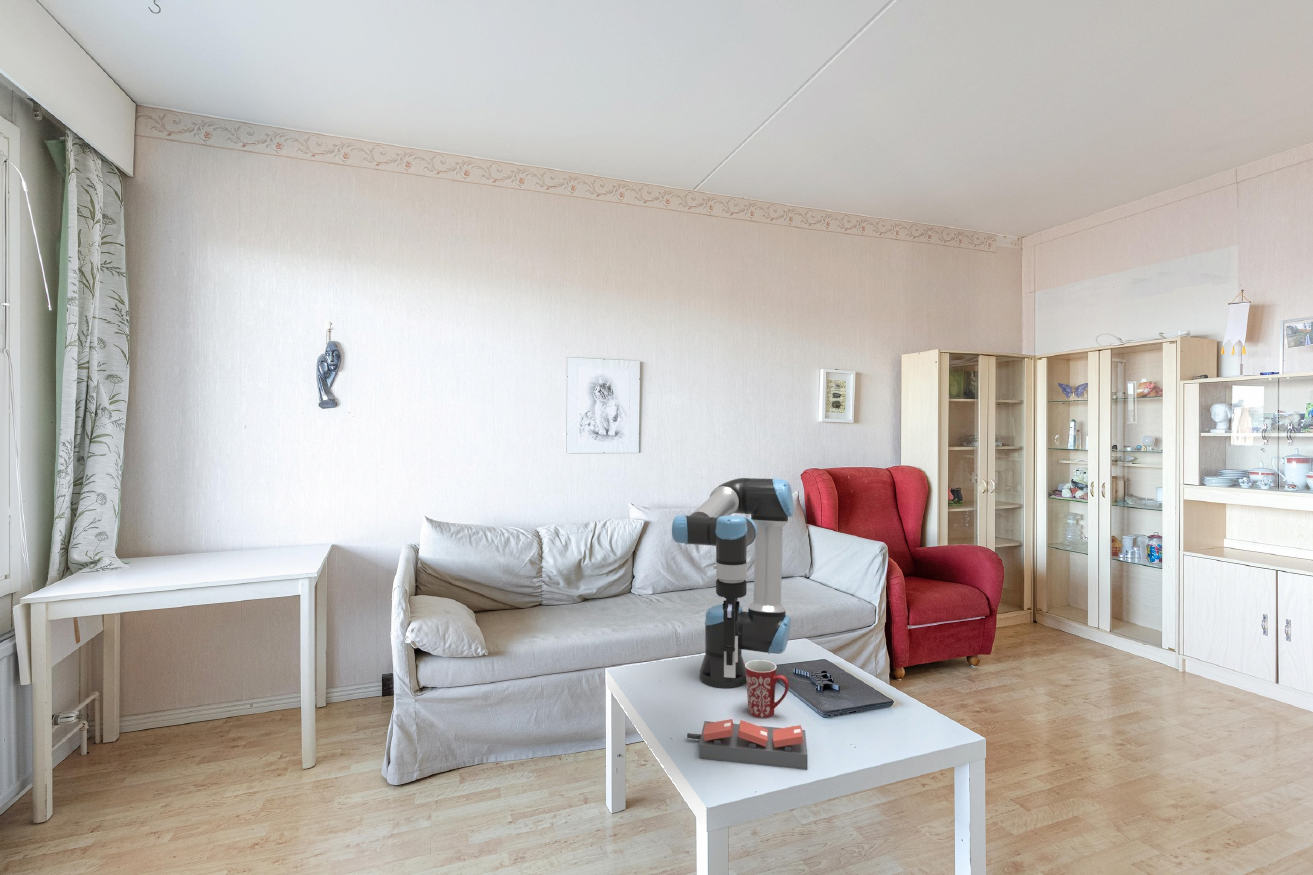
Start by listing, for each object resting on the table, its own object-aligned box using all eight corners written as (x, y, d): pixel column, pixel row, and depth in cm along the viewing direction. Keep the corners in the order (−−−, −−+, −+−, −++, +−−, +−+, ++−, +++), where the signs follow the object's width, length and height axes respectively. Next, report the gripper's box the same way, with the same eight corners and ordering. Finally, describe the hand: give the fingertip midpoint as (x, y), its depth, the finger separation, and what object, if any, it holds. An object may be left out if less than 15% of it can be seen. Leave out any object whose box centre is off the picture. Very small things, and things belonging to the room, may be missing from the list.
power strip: (689, 732, 166) (689, 715, 166) (805, 743, 160) (805, 725, 160) (682, 756, 154) (682, 738, 154) (807, 769, 148) (807, 750, 148)
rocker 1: (707, 729, 159) (705, 723, 159) (733, 724, 158) (732, 718, 158) (704, 740, 154) (702, 734, 154) (732, 736, 152) (730, 729, 152)
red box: (738, 725, 158) (740, 719, 157) (766, 735, 156) (767, 728, 156) (737, 736, 152) (739, 730, 152) (765, 746, 151) (767, 740, 151)
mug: (739, 714, 176) (739, 667, 176) (753, 702, 184) (753, 656, 183) (780, 726, 169) (781, 677, 169) (793, 713, 177) (794, 666, 176)
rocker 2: (774, 735, 156) (773, 729, 156) (802, 731, 155) (800, 724, 155) (774, 747, 150) (772, 740, 151) (803, 742, 149) (801, 735, 149)
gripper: (719, 568, 165) (719, 651, 166) (711, 590, 144) (711, 686, 145) (748, 569, 164) (748, 653, 165) (744, 591, 143) (744, 688, 143)
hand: (731, 668), depth 155 cm, fingers open, 9 cm apart
